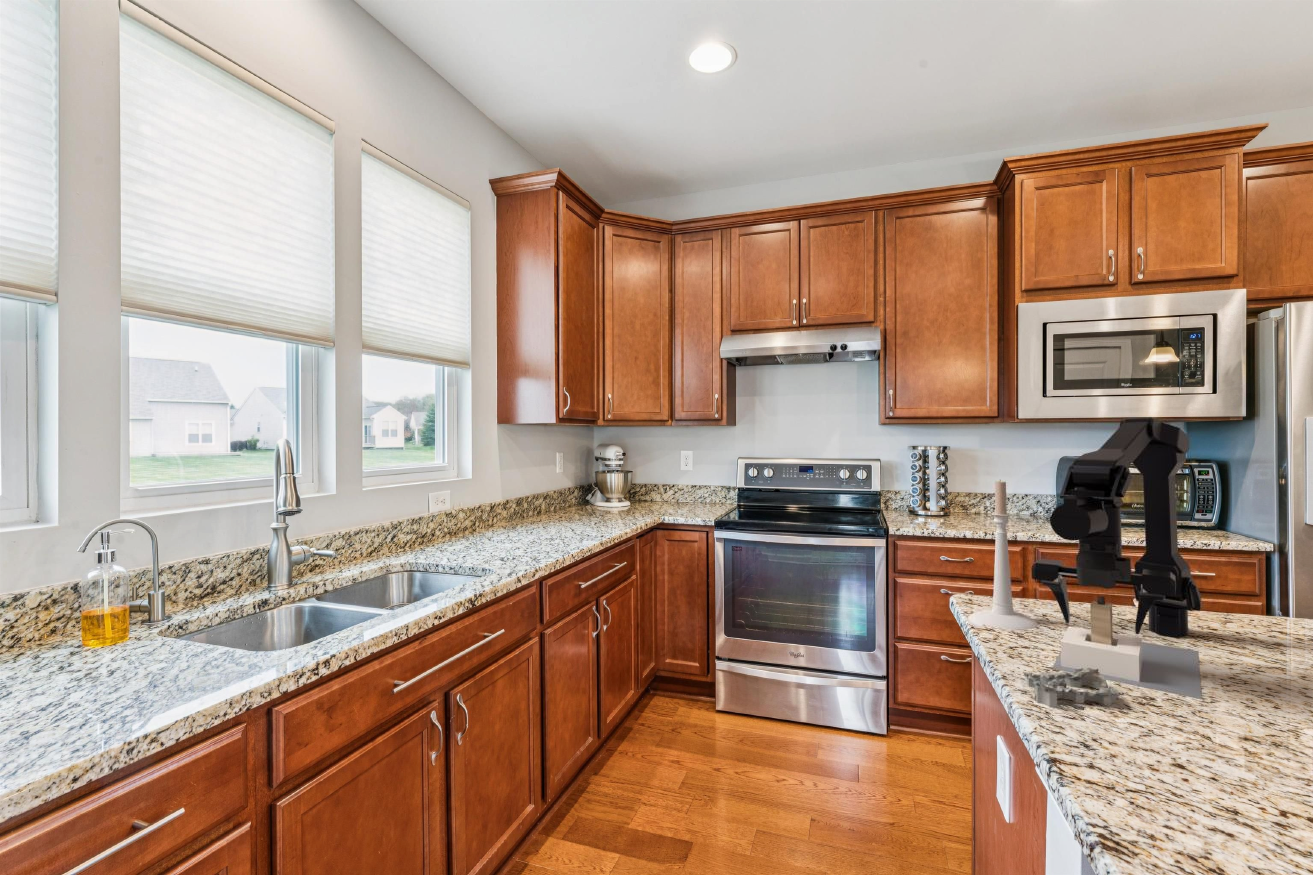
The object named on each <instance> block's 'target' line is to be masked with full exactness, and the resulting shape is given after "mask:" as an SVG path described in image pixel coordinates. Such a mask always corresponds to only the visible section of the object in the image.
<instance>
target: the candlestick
mask: <svg viewBox="0 0 1313 875" xmlns="http://www.w3.org/2000/svg"><path fill="white" fill-rule="evenodd" d="M994 497H995V498H994V502H995V503H994V505H995V506H994V507H995V508H994V510H995V511H994V513H993V512H992V513H990V515H991V516H992V517H993V522H994V524H996V525H995V526H996V531H995V545H994V546H995V547H994V549H995V550H994V551H995V552H994V568H993V569H994V572H993V574H994V576H993V597H992V598H993V599H992V602H993V603H992V606H991V609H983V610H977V611H975V612H973V613H971V614H969V616H968V617H967V622H968V623H969V625H971V626H972V627H974V628H976V629H978V630H979V629H980V628H981V627H982V626H986V627H991V628H996V629H1002V630H1012V631H1013V630H1014V631H1025V630H1026V631H1027V630H1032V629H1036V628H1037V627H1038V625H1039V623H1038V622H1037V621H1036V620H1034V619H1033V618H1031V617H1029V616H1027V615H1025V614H1022V613H1019V612H1017V611H1015V610H1014V606H1013V604H1014V602H1013V595H1012V580H1011V568H1010V556H1009V554H1010V553H1009V544H1008V543H1009V542H1008V531H1007V525H1008V524H1009V517H1010V516H1012V514H1011V513H1007V482H1006V481H1002V480H999V481H994Z"/></svg>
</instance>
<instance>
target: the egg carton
mask: <svg viewBox="0 0 1313 875" xmlns="http://www.w3.org/2000/svg"><path fill="white" fill-rule="evenodd" d="M1022 674H1024V677H1025V678H1026V685H1027V686H1028V687H1029V688H1034V694H1035V695H1034V701H1035V702H1036V703H1037V704H1042V705H1045V706H1047V707H1048V708H1052V709H1054V708H1055V709H1058V707H1059V706H1066V707H1070V708H1074V710H1078V711H1085V709H1086V708H1087V706H1083V705H1078V704H1085V701H1093V702H1097V703H1099V704H1102V705H1103V706H1112V703H1118V701H1117V700H1118V699H1117V697H1121V695H1120V693H1119V692H1118V691H1117V690H1114V688H1113V686H1109V685H1108V683H1107V680H1105V678H1104V677H1103V676H1102V675H1101V674H1100V673H1099V672H1098V669H1091V668H1087V669H1083V668H1081V669H1075V671H1074V672H1073V673H1071V672H1067V671H1061V672H1057V673H1051V672H1041V673H1037V674H1036V673H1032V672H1025V671H1023V673H1022ZM1083 686H1088V687H1090V688H1093V689H1095V690H1096V689H1097V690H1099V691H1095V690H1092V691H1091V692H1090V691H1089V690H1087V689H1084V690H1083V691H1080V690H1077V688H1082V687H1083ZM1073 688H1076V689H1073ZM1058 699H1066V700H1070V701H1073V702H1075V703H1077V704H1074V703H1070V702H1066V701H1062V700H1058ZM1102 711H1103V710H1102ZM1103 712H1104V713H1106V711H1103Z"/></svg>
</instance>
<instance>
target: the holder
mask: <svg viewBox="0 0 1313 875" xmlns="http://www.w3.org/2000/svg"><path fill="white" fill-rule="evenodd" d="M1142 642H1143V638H1142V637H1137V636H1129V635H1124V634H1120V633H1119V634H1118V633H1113V646H1112V645H1106V644H1100V643H1095V642H1091V629H1087V628H1081V627H1076V626H1068V627H1067V628H1066V631H1065V633H1064V634H1063V637H1062V639H1061V640H1060V652H1061V666H1064V667H1069V668H1074V669H1081V668H1083V669H1087V668H1091V669H1098V672H1099V673H1100V674H1104V675H1108V676H1113V677H1118V678H1123V679H1128V680H1133V681H1138V682H1139V681H1140V675H1141V668H1142Z"/></svg>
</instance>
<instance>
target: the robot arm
mask: <svg viewBox="0 0 1313 875" xmlns="http://www.w3.org/2000/svg"><path fill="white" fill-rule="evenodd" d="M1189 450H1190V438H1189V436H1188V435H1187V433H1186V432H1185V431H1183V430H1182V428H1181V427H1177V426H1175V425H1172V424H1168V423H1165V422H1162V421H1161V420H1159V419H1158V418H1155V417H1152V416H1144V417H1141V416H1140V417H1127V418H1124V419H1121V421H1120V423H1119V427H1118V428H1117V429H1116V430H1115V432H1114V433H1112V435H1111V436H1109V438H1108V439H1107V440H1106V441H1105V442H1104V443H1103V444H1102V445H1101V446H1100V448H1099V449H1097V450H1094V451H1091V452H1090V451H1089V452H1085V453H1083V454H1082V455H1080V456H1078V457H1077V458H1075V459H1074V460H1073V462H1072V463H1071V464H1070V465H1069V468H1068V469H1067V473H1066V476H1065V479H1064V482H1063V485H1062V488H1061V491H1060V494H1059V498H1060V499H1062V500H1063V504H1061V505H1058V506H1057V507H1056V508H1055V509H1054V510H1053V511H1052V513H1051V515H1050V517H1049V523H1050V527H1051V528H1052V530H1053V532H1054V533H1055V534H1056V535H1057V536H1058V537H1060V538H1062V539H1064V540H1066V541H1078V553H1077V554H1076V557H1075V565H1076V566H1065V565H1064V562H1063V560H1060V559H1059V560H1058V559H1049V558H1039V559H1037V560H1036V561H1035V562H1034V563H1033V564H1032V565H1031V579H1032V580H1035V581H1040V585H1042V586H1046V587H1048V588H1049V590H1050V591H1051V592H1052V594H1053V596H1054V598H1055V600H1056V602H1057V604H1058V606H1059V609H1060V611H1061V614H1062V616H1063V618H1064V621H1065V623H1066V624H1070V619H1071V615H1070V614H1071V612H1070V605H1069V595H1068V587H1067V580H1066V578H1068V579H1076V581H1077V584H1078V585H1080V586H1082V587H1089V586H1091V587H1101V588H1103V589H1107V590H1110V589H1115V587H1116V584H1120V585H1127V586H1133V589H1134V591H1133V592H1134V596H1135V601H1136V602H1138V605H1137V612H1136V618H1135V623H1134V624H1135V625H1134V627H1135V628H1134V629H1135V633H1134V634H1136V635H1139V634H1140V632H1141V630H1142V626H1143V625H1144V621H1145V619H1146V616H1147V615H1148V616H1147V617H1148V630H1149V631H1151V632H1152V633H1155V634H1156V635H1158V636H1160V637H1167V638H1172V639H1179V638H1181V637H1182V638H1183V637H1184V638H1185V637H1187V636H1189V612H1193V611H1202V604H1203V603H1202V594H1201V592H1200V591H1199V588H1198V585H1197V583H1196V582H1195V579H1194V578H1193V577H1192V572H1191V571H1192V570H1191V566H1190V565H1189V563H1188V562H1187V561H1186V560H1185V558H1184V557H1183V556H1182V555H1181V553H1179V546H1178V545H1179V543H1178V542H1179V541H1178V515H1177V494H1176V493H1177V492H1176V491H1177V490H1176V489H1177V488H1176V475H1177V473H1178V472H1179V471H1180V470H1181V468H1182V467H1183V465H1184V464H1185V463H1186V461H1187V453H1189ZM1132 464H1133V466H1134V467H1135V469H1137V471H1138V472H1139V473H1140V475H1141V476H1142V488H1143V493H1142V494H1143V512H1144V513H1143V514H1144V537H1145V542H1144V543H1145V552H1144V553H1143V555H1142V556H1141V557H1140V558H1139V560H1137V561H1135V563H1134V572H1133V573H1132V561H1131V560H1132V559H1131V558H1130V557H1125V556H1123V550H1122V548H1123V547H1122V544H1123V543H1122V541H1123V540H1122V508H1121V506H1122V505H1124V501H1123V499H1122V498H1124V497H1126V496H1125V495H1126V493H1127V491H1128V489H1129V486H1130V484H1131V482H1132V478H1133V476H1132V473H1131V471H1130V466H1131V465H1132Z"/></svg>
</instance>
